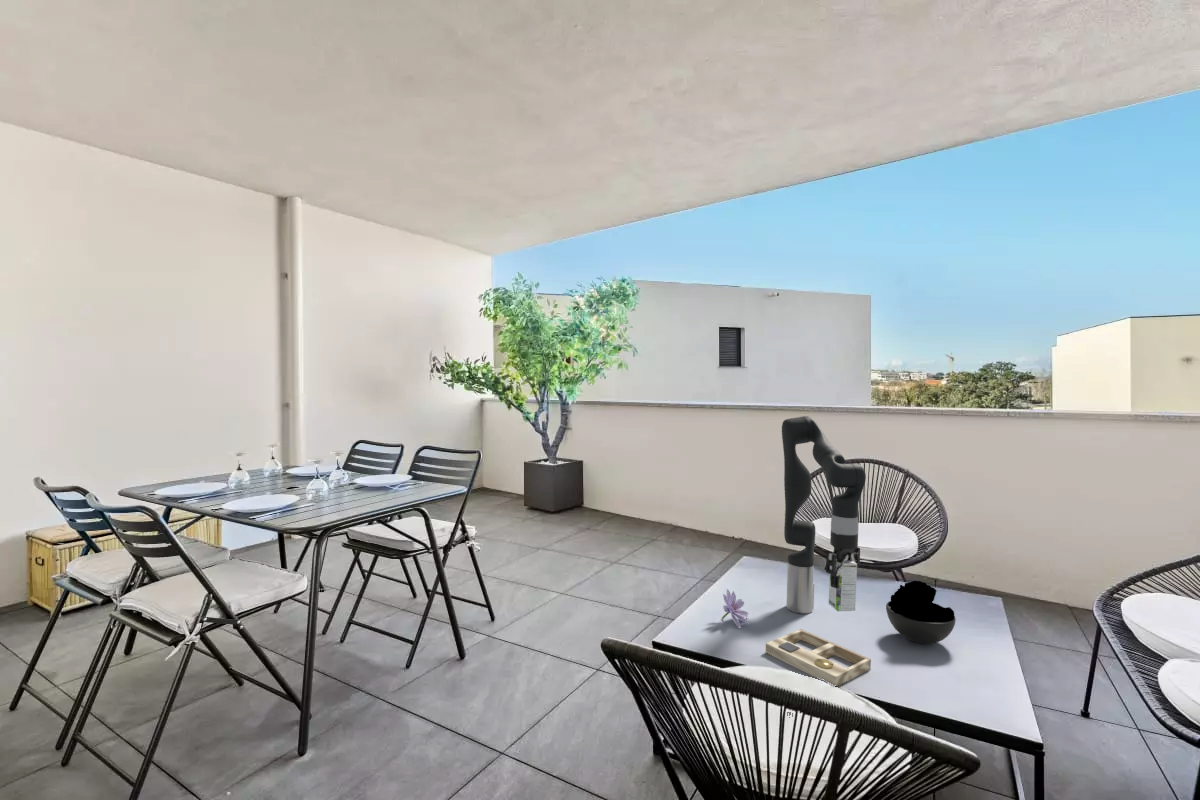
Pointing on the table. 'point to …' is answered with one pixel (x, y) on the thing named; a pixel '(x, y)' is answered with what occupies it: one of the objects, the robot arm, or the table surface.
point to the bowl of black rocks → (919, 614)
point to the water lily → (734, 608)
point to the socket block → (818, 657)
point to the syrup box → (844, 588)
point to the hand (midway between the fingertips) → (842, 584)
